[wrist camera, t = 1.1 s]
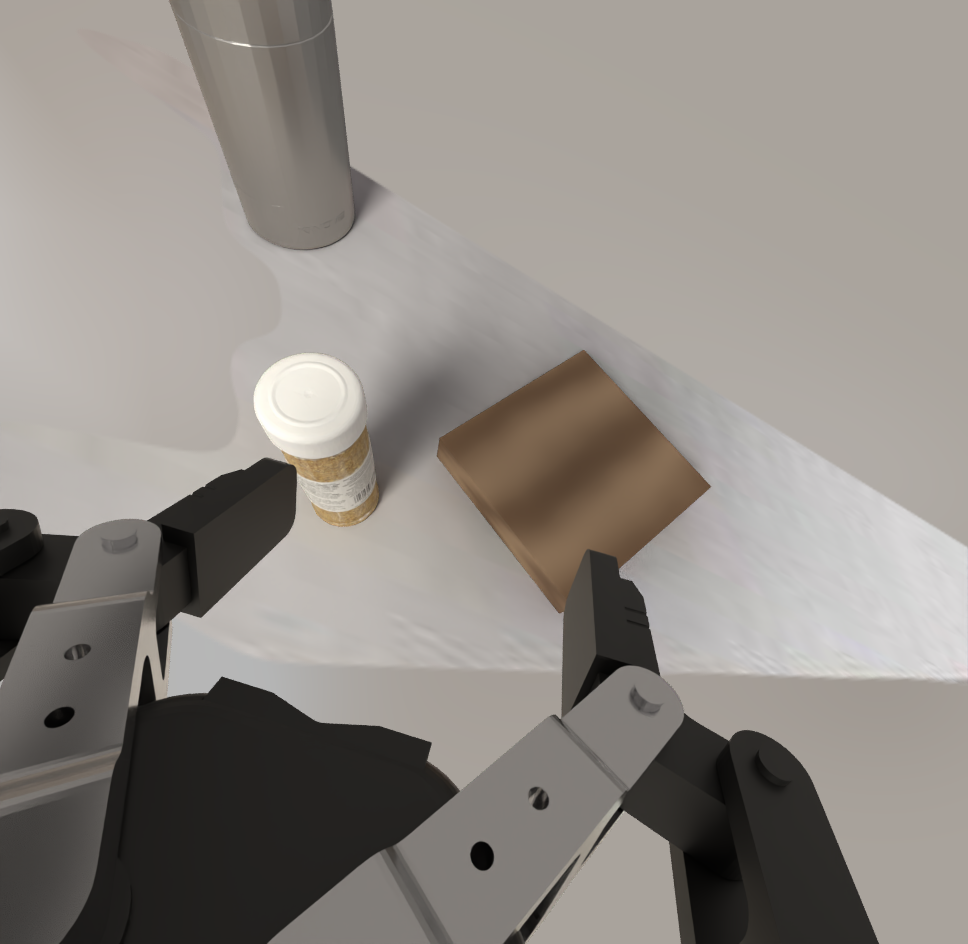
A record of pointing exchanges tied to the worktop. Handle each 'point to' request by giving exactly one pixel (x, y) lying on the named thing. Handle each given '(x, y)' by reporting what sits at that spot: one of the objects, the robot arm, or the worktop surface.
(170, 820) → the robot arm
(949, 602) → the worktop surface
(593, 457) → the walnut base
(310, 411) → the spice jar
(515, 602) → the worktop surface
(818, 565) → the worktop surface
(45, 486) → the worktop surface
